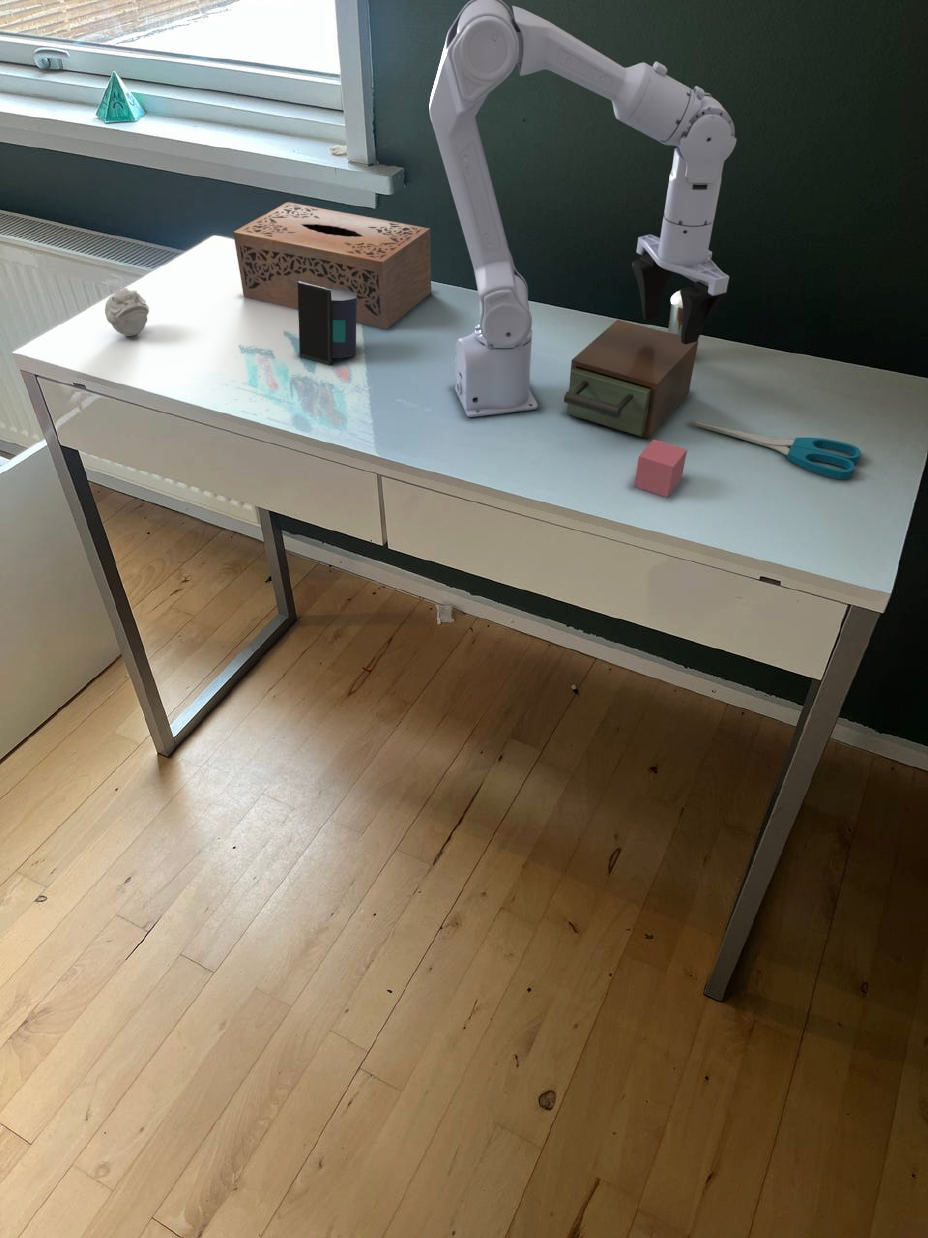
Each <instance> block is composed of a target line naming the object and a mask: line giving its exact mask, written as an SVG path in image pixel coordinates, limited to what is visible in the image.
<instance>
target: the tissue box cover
mask: <svg viewBox="0 0 928 1238" xmlns="http://www.w3.org/2000/svg"><path fill="white" fill-rule="evenodd" d="M232 234H233V239H234V248H235V251H236V258H237V264H238V270H239V271H238V272H239V276H240V283H241V289H242V295H243V297H244V298H247V299H250V300H251V299H252V300H257V301H261V302H264V303H269V304H273V305H277V306H278V305H279V306H283V307H287V308H291V309H295V310H298V282H299V281H300V282H304V283H308V284H311V285H315V286H319V287H323V288H327V289H344V290H349V291H352V292H354V293H356V294H357V316H356V324H361V325H365V326H370V327H374V328H378V329H382V330H388V329H389V328H390V327H391V326H393V325H394V324H395V323H396V322H397V321H399V320H400V319H402V318H403V316H405V315H407V313H408V312H410V311H411V310H412V309H414V307H416V306H417V305H418V304H420V303H421V302H422V301H423V300H424V299H426V298H427V297H428V296H429V295H431V294H432V261H431V259H432V258H431V257H432V255H431V228H429V227H424V226H423V227H422V226H419V225H413V224H409V223H402V222H398V221H392V220H387V219H380V218H375V217H369V216H364V215H360V214H354V213H349V212H343V211H337V210H333V209H326V208H321V207H316V206H311V205H306V204H300V203H296V202H295V203H294V202H290V201H286V202H284V203H283V204H281V205H279V206H277V207H276V208H274V209H272V210H270V211H269V212H267V213H264V214H263V215H261V216H260V217H258V218H255V219H254V220H252V221H250V222H249V223H247V224H245V225H243V226H241V227H239V228H238V229H236V230H234V231H232Z"/></svg>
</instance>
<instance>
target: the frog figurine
mask: <svg viewBox="0 0 928 1238" xmlns="http://www.w3.org/2000/svg"><path fill="white" fill-rule="evenodd" d="M104 313H105V318H106V320H107V322H108V324H110V325H111V326H112V328H113V329H114V330H115V331H116V332H117V333H119V334H121V335H122V336H127V337H132V336H137V335H138V334H140V333H142V332H143V330H144V329H145V326H146V324H147V322H148V314H149V313H150V308H149V306H148V304H147V302H146V299H144V298H143V297H142V296H141V295H140V293H138V291H137V290H131V289H129V288H127V287H125V288H124V287H123V288H121V289H117V290H116V291H115V292H114V294H112V295H110V296H109V298H108V299H107V301H106V303H105V306H104Z"/></svg>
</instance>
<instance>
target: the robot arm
mask: <svg viewBox="0 0 928 1238" xmlns="http://www.w3.org/2000/svg"><path fill="white" fill-rule="evenodd" d="M511 7H512V11H513V12H512V11H511V9H510V7H509V6H508V5H507V4H506V3H505V2H504V1H503V0H470V1H468V2H467V3H466V4H465V5H464V6H463V7H462V9H461V10H460V11H459V13H458V15H457V17H456V18H455V20H454V21H453V23H452V25H451V26H450V28H449V29H448V31H447V33H446V38H445V43H444V45H443V46H444V47H443V51H442V54H441V58H440V62H439V65H438V69H437V73H436V77H435V80H434V84H433V88H432V90H431V95H430V100H429V117H430V121H431V124H432V128H433V131H434V136H435V139H436V142H437V145H438V149H439V153H440V156H441V159H442V163H443V166H444V170H445V174H446V177H447V180H448V184H449V187H450V191H451V194H452V198H453V201H454V204H455V208H456V211H457V215H458V220H459V222H460V226H461V229H462V233H463V237H464V240H465V243H466V248H467V250H468V253H469V258H470V261H471V264H472V267H473V271H474V278H475V283H476V287H477V294H478V296H477V297H478V301H479V322H478V324H477V325H476V326H475V327H474V332H473V333H471V334H469V335H466V336H463V337H459V338H457V340H456V344H455V385H454V390H455V393H456V395H457V397H458V399H459V402H460V404H461V406H462V408H463V409H464V412H465V414H466V416H467V417H469V418H473V417H481V416H483V417H484V416H489V415H499V414H508V413H515V412H524V411H532V410H537V409H538V408H539V404H538V402H537V400H536V399H535V396H534V395H533V393H532V392H531V390H530V380H531V379H530V378H531V363H532V362H531V361H532V360H531V359H532V344H533V343H532V342H533V330H532V326H533V318H532V313H531V311H530V304H529V287H528V284H527V281H526V280H525V278H524V277H523V276H522V275H521V273H520V272H518V270H517V268H516V266H515V263H514V259H513V256H512V253H511V251H510V248H509V244H508V240H507V237H506V233H505V229H504V225H503V221H502V217H501V213H500V210H499V205H498V201H497V197H496V194H495V190H494V186H493V181H492V178H491V175H490V170H489V166H488V162H487V158H486V154H485V150H484V147H483V143H482V139H481V136H480V135H481V134H480V131H479V127H478V123H477V119H476V116H477V114H478V112H479V111H480V109H481V107H482V106H483V104H484V102H485V101H486V99H487V97H488V95H489V94H490V93H491V92H492V91H494V90H495V89H496V88H497V87H499V86H500V84H502V83H503V82H504V81H505V80H506V79H507V78H508V77H509V76H510V75H511V74H512V72H513V71H514V69H515V67H516V65H517V67H518V73H519V77H525V76H528V75H530V74H533V73H537V72H541V71H543V70H547V71H550V72H552V73H554V74H556V75H558V76H560V77H562V78H564V79H566V80H568V81H570V82H572V83H575V84H576V85H579V86H581V87H583V88H584V89H586V90H588V91H591V92H593V93H595V94H597V95H599V96H601V97H603V98H606V99H608V100H610V101H611V102H612V103H611V104H612V107H613V108H612V109H613V114H614V116H615V118H616V120H618V121H620V122H622V123H624V124H625V125H627V126H629V127H631V128H633V129H634V130H636V131H638V132H640V133H642V134H644V135H646V136H648V137H649V138H651V139H653V140H655V141H657V142H659V143H661V144H663V145H665V146H675V147H676V148H674V152H673V159H672V165H671V171H670V174H669V179H668V185H667V191H666V198H665V206H664V212H663V218H662V225H661V231H660V237H659V236H655V235H653V234H646V235H643V236H639V237H638V238H637V246H636V254H638V255H640V256H641V257H640V259H636V260H634V261H633V262H632V264H631V269H632V271H633V273H634V275H635V279H636V282H637V285H638V290H639V294H640V301H641V302H640V303H641V310H642V311H641V312H642V318H643V320H645V321H648V320H653V319H657V318H659V317H660V314H661V313H662V310H663V305H664V301H665V295H666V291H667V287H668V284H669V281H670V279H671V276H672V274H673V273H675V274H676V273H677V274H680V275H682V276H683V277H685V278H687V279H689V280H691V281H692V282H694V285H692V286H687V287H683V288H680V290H679V291H680V294H681V298H682V305H683V322H682V330H681V342H682V343H683V344H689V343H693V342H697V340H698V341H699V338H700V336H701V334H702V332H703V329H704V327H705V326H706V324H707V322H708V319H710V317H711V315H712V313H713V312H714V310H715V309H716V308H717V306H718V305H719V304H720V303H721V301H722V300H723V299H724V298H725V297H726V296H727V294H728V291H729V290H728V286H729V280H730V276H729V275H728V274H727V273H724V272H723V271H722V270H721V269H720V268H719V267H718V265H717V264H716V263H715V262H714V261H713V260H712V256H713V251H712V250H709V249H710V248H709V247H710V242H711V237H712V232H713V226H714V221H715V216H716V211H717V206H718V199H719V195H720V189H721V184H722V175H723V168H724V163H725V161H726V160H727V159H728V158H729V157H730V156H731V154H732V153H733V151H734V149H735V147H736V145H737V139H738V138H736V137H735V134H736V132H735V131H736V130H735V124H734V121H733V120H732V118H731V116H730V115H729V113H728V111H726V108H724V107H723V105H722V104H721V103H720V102H719V101H718V100H717V99H716V98H714V97H713V96H712V94H711V93H709V92H706V91H705V90H704V89H703V88H701V87H699V86H697V85H696V86H694V87H693V89H692V88H691V87H688V86H687V85H685V84H683V83H681V82H680V81H678V80H676V79H674V78H673V77H671V76H670V75H667V72H668V68H667V67H666V65H664V64H662V63H660V62H659V61H655V62H653V65H652V66H651V65H650V64H648V63H646V62H639V63H637V64H634V65H631V66H629V67H624V66H623V65H621V64H619V63H618V62H615V61H614V60H612V59H611V58H610V57H608V56H606V55H604V54H603V53H601V52H599V51H597V50H596V49H594V48H593V47H591V46H590V45H588V44H586V43H585V42H583V41H582V40H580V39H578V38H576V37H575V36H573V35H572V34H570V33H568V32H567V31H565V30H563V29H562V28H561V27H558V26H557V25H555V24H554V23H552V22H550V21H549V20H546V19H544V18H542V17H541V16H539V15H536V14H534V13H533V12H530V11H528V10H526V9H524V8H522V7H518V6H515V5H512V6H511Z"/></svg>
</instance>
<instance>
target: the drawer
mask: <svg viewBox="0 0 928 1238" xmlns="http://www.w3.org/2000/svg"><path fill="white" fill-rule="evenodd" d="M570 374H571V378H570V377H569V385H570V390H569V389H568V391H566V392H565V394H564V396H563V403H564V404H567V407H568V412H567V411H566V414H567V413H568V414H571V415H570V416H572V415H574V416H573V417H575V416H577V417H576V418H578V417H581V418H584V419H583V420H585V419H587V420H586V421H588V420H590V421H589V422H591V421H593V422H592V423H594V422H597V423H596V424H598V423H600V424H599V425H601V424H603V425H602V426H604V425H606V426H605V427H607V426H610V427H609V428H611V427H613V428H612V429H614V428H616V429H615V430H617V429H619V430H618V431H620V430H623V431H622V432H624V431H626V432H625V433H627V432H629V433H628V434H630V433H632V434H631V435H633V434H636V435H635V436H637V435H639V436H638V437H640V436H641V435H642V434H643V433H644V432H645V426H646V420H647V413H648V407H649V400H650V394H651V387H647V386H644V385H640V384H637V383H633V382H630V381H626V380H623V379H619V378H616V377H612V376H609V375H605V374H602V373H598V372H595V371H591V370H587V369H584V370H582V369H578V368H574V369H573V370H572V371H571V370H570ZM568 414H567V415H568ZM581 418H580V419H581Z"/></svg>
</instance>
